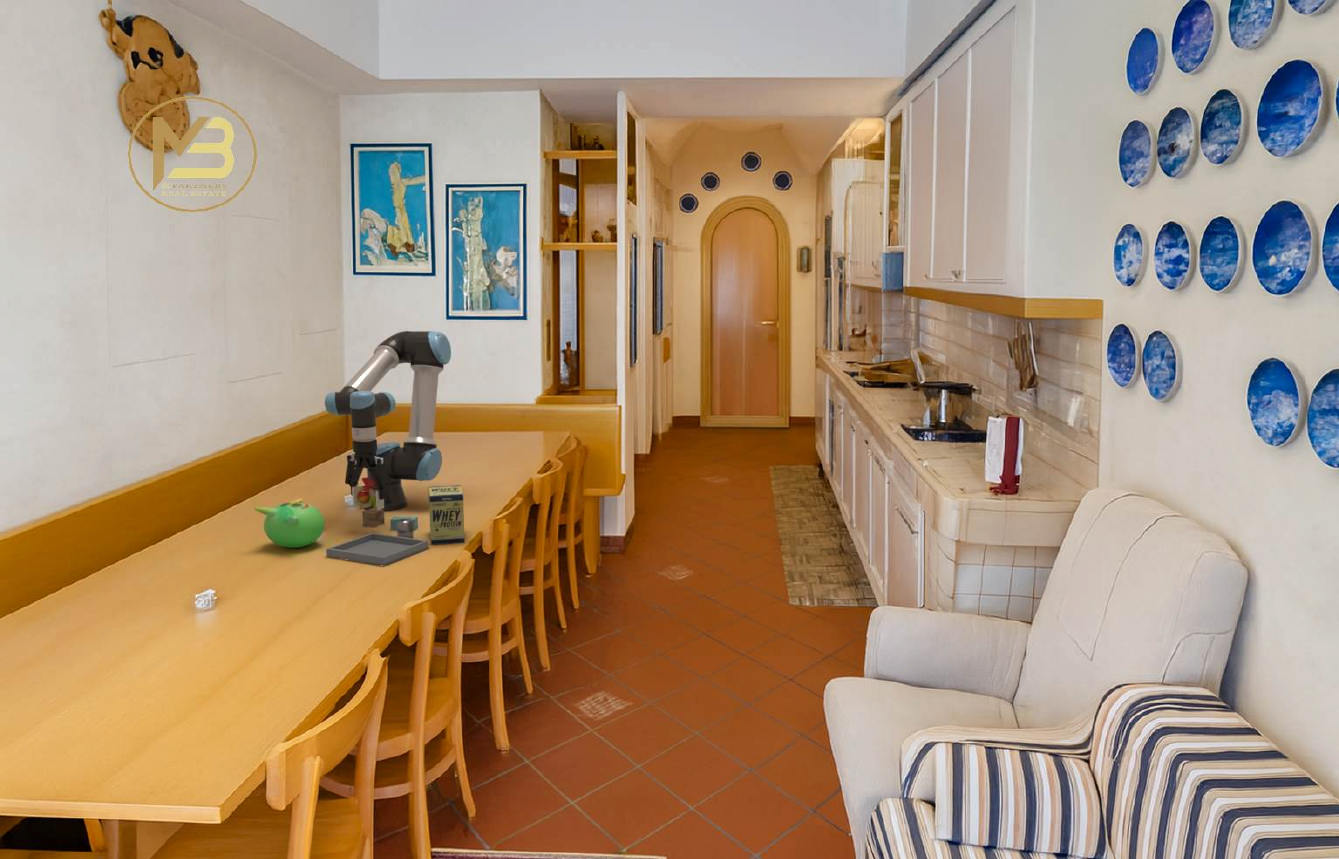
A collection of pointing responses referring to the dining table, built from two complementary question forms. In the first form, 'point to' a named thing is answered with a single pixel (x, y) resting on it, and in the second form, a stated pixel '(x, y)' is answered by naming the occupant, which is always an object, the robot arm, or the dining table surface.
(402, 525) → the metal cylinder
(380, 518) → the walnut cube
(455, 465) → the dining table surface
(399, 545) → the tray
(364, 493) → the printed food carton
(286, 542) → the green rounded blob
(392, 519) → the teal brick
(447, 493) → the protein box
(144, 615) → the dining table surface
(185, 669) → the dining table surface
